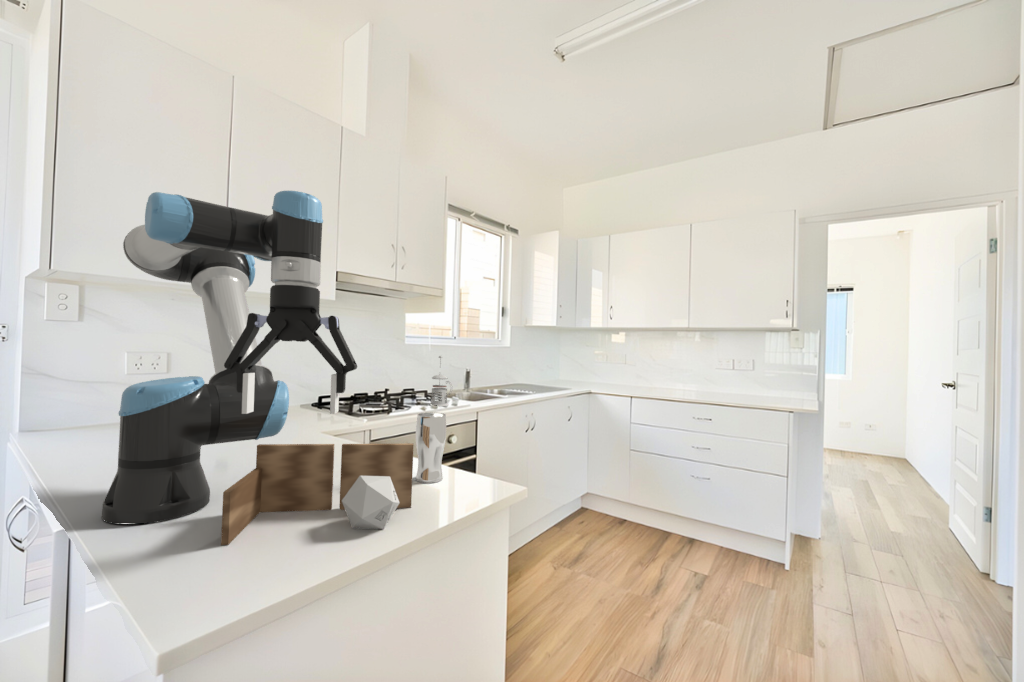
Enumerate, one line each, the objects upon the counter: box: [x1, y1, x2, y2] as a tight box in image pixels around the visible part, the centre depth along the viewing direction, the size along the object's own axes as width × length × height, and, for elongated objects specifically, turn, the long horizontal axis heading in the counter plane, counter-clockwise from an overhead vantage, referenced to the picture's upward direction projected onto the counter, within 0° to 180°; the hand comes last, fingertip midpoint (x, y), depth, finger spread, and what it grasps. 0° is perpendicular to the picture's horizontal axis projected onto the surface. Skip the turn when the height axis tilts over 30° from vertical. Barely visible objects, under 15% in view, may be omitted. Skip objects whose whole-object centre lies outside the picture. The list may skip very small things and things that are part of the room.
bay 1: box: [220, 443, 335, 546], centre depth 75 cm, size 13×14×12 cm
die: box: [342, 476, 399, 530], centre depth 76 cm, size 8×9×10 cm
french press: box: [429, 355, 453, 407], centre depth 225 cm, size 10×12×25 cm
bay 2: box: [338, 442, 415, 511], centre depth 84 cm, size 13×1×12 cm, turn 101°
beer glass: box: [415, 411, 447, 484], centre depth 103 cm, size 7×7×15 cm
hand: (291, 412), depth 74 cm, fingers open, 13 cm apart
